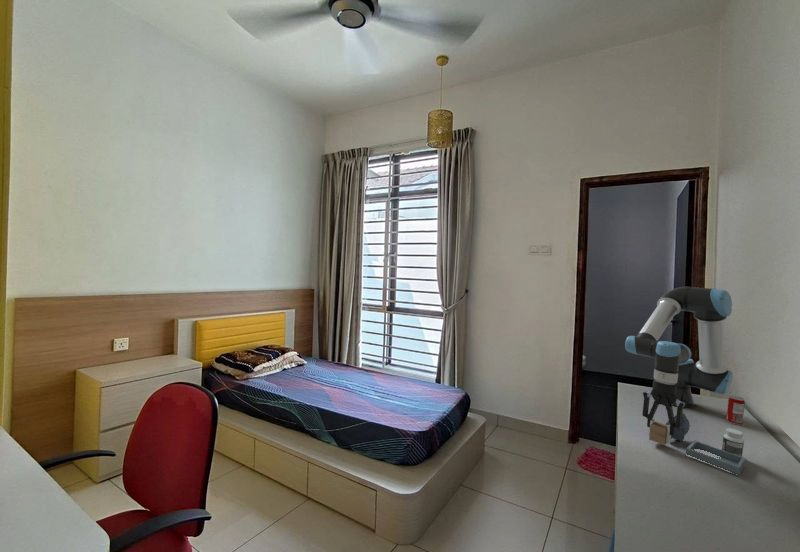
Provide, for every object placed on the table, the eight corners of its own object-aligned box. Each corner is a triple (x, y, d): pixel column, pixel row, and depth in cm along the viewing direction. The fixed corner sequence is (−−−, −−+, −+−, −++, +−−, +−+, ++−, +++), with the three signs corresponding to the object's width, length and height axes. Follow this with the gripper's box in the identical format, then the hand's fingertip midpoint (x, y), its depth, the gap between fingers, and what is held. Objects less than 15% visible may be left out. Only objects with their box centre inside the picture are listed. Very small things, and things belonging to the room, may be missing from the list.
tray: (693, 447, 141) (694, 440, 141) (744, 466, 129) (745, 458, 129) (685, 456, 134) (686, 448, 134) (738, 476, 123) (739, 467, 123)
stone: (679, 447, 140) (682, 423, 140) (661, 441, 145) (663, 417, 144) (689, 437, 149) (691, 414, 148) (671, 431, 154) (673, 408, 153)
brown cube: (654, 435, 145) (655, 421, 145) (669, 440, 141) (670, 426, 141) (649, 439, 142) (650, 424, 141) (664, 445, 138) (665, 429, 137)
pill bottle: (722, 450, 140) (724, 425, 139) (742, 457, 136) (745, 431, 135) (720, 455, 136) (723, 430, 135) (741, 462, 132) (744, 436, 131)
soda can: (731, 419, 169) (733, 394, 168) (745, 424, 164) (748, 399, 163) (723, 420, 167) (726, 395, 166) (737, 425, 162) (740, 400, 161)
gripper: (635, 376, 145) (630, 431, 146) (691, 390, 131) (684, 452, 132) (642, 373, 150) (637, 427, 151) (696, 387, 135) (690, 446, 137)
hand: (659, 438), depth 142 cm, fingers closed on brown cube, 5 cm apart
